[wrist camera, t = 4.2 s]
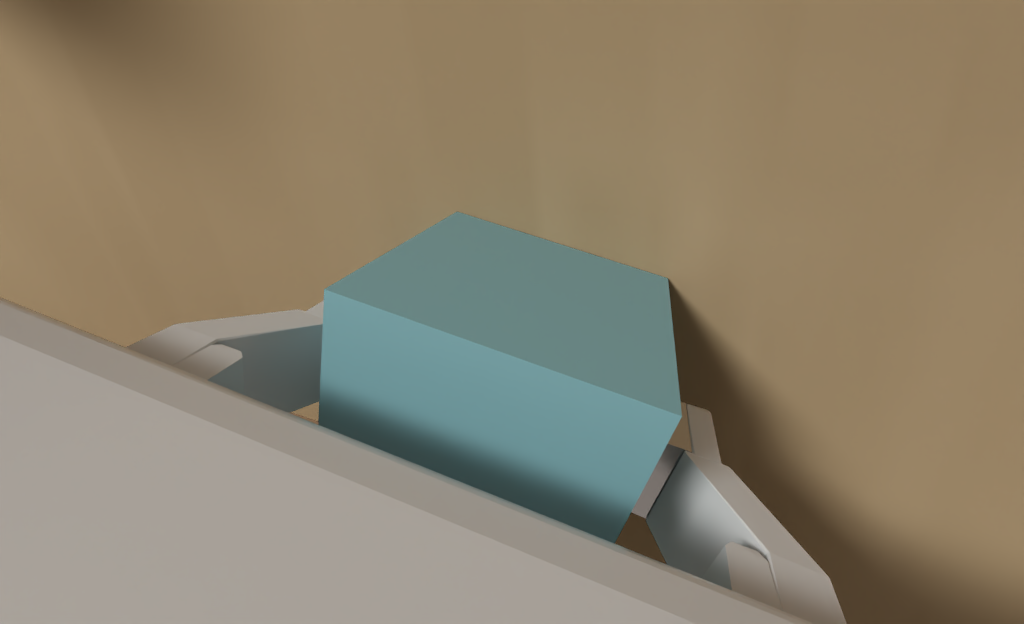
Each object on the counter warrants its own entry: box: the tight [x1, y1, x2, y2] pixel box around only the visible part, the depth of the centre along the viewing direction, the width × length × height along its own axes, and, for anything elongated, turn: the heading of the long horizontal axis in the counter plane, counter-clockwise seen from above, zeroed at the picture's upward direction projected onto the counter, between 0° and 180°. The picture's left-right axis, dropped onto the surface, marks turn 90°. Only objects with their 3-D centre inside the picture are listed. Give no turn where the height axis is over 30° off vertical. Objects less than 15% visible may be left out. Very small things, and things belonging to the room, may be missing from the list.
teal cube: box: [318, 212, 682, 544], centre depth 9 cm, size 5×5×5 cm
